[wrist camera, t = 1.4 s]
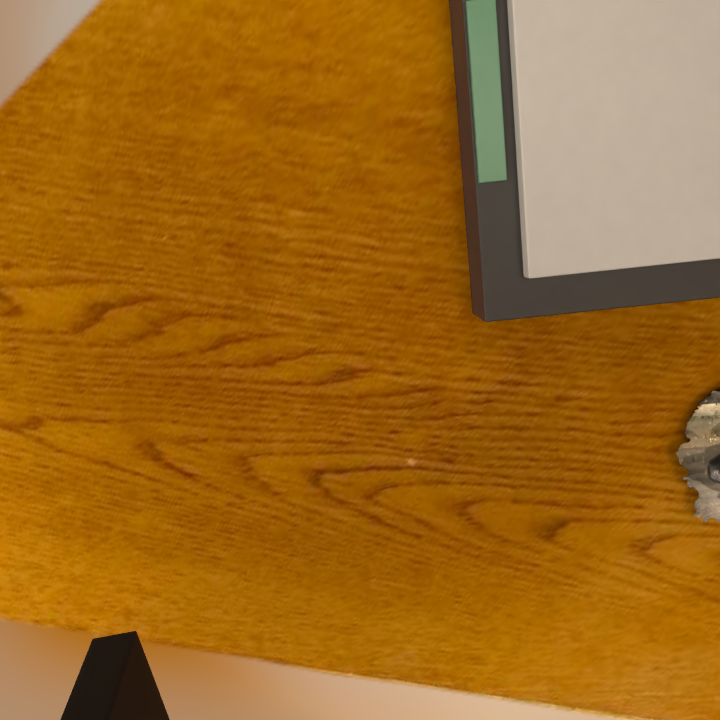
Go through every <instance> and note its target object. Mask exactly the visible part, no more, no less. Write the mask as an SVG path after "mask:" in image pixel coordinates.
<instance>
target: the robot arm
mask: <svg viewBox="0 0 720 720" xmlns="http://www.w3.org/2000/svg"><path fill="white" fill-rule="evenodd" d="M61 720H169V717H168V714H167V712H166V709H165V706H164V704H163V701H162V699H161V696H160V693H159V690H158V688H157V685H156V682H155V680H154V677H153V675H152V672H151V669H150V667H149V664H148V661H147V659H146V656H145V653H144V651H143V648H142V645H141V643H140V640H139V637H138V635H137V632H136V631H133V632H128V633H122V634H117V635H112V636H106V637H101V638H95V639H93V640H92V642H91V645H90V647H89V650H88V652H87V655H86V657H85V660H84V662H83V665H82V667H81V670H80V673H79V675H78V677H77V680H76V682H75V685H74V687H73V690H72V692H71V695H70V698H69V700H68V702H67V705H66V708H65V710H64V713H63V715H62V718H61Z"/></svg>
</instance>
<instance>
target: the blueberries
mask: <svg viewBox="0 0 720 720" xmlns="http://www.w3.org/2000/svg"><path fill="white" fill-rule="evenodd" d="M710 394H711V396H710V397H708V396H707V397H706V400H703V401H702V402H700V404H699V406H698V408H699V409H698V410H695V412H696V413H694V414H693V416H691V418H690V420H689V422H688V423H687V424H688V425H687V427H686V428H685V429H686V431H685V432H684V433H685V434H686V436H687V437H688V438H689V437H690V442H688V443H686V442H685V443H683V444H681V445H680V446H681V447H679V449H678V450H679V451H678V452H676V455H677V456H678V458H679V459H680V460H679V463H680V465H681V466H682V465H684V468H686V469H687V470H688V471H689V475H687V476H686V478H685V477H683V479H682V480H686V479H687V481H688V482H687V485H688V487H689V488H690V486H691V487H692V486H693V487H694V489H695V490H698V492H699V496H698V500H696V502H695V505H694V506H693V507H694V508H695V507H696V509H697V510H696V512H697V513H696V514H694V517H695V516H697V517H698V516H699V517H702V516H704V518H703V519H702V520H701V521H704V522H706V521H707V520H709V519H711V518H716V519H717V521H718V522H720V392H717V391H716V392H715V391H712V393H710Z"/></svg>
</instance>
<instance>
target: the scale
mask: <svg viewBox="0 0 720 720" xmlns="http://www.w3.org/2000/svg"><path fill="white" fill-rule="evenodd" d="M449 5H450V18H451V31H452V45H453V58H454V71H455V84H456V98H457V111H458V124H459V138H460V151H461V164H462V178H463V191H464V204H465V218H466V231H467V244H468V257H469V271H470V284H471V297H472V311H473V314H475V315H476V316H478V317H479V318H481V319H482V320H484V321H485V322H491V321H500V320H510V319H519V318H529V317H538V316H548V315H557V314H567V313H576V312H586V311H595V310H605V309H614V308H624V307H633V306H643V305H653V304H662V303H672V302H681V301H691V300H700V299H710V298H719V297H720V0H449Z"/></svg>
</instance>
